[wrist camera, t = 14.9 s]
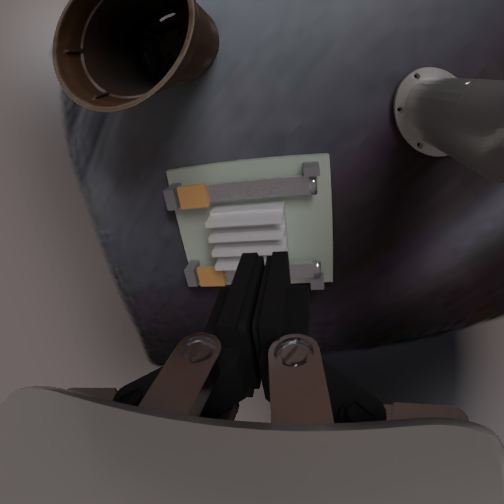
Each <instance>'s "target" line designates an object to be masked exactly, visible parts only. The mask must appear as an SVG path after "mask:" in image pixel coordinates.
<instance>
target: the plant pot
mask: <svg viewBox="0 0 504 504" xmlns="http://www.w3.org/2000/svg"><path fill="white" fill-rule="evenodd" d="M171 13H176V14H175V15H174V16H172V17H168V18H167V19H165V20H163V21H162V22H160V21H159V20H160V19H161V18H162V17H164V16H166V15H168V14H171ZM180 31H182V32H183V34H182V35H179V34H178V33H179V32H180ZM164 38H166V39H167V40H166V42H163V39H164ZM218 47H219V35H218V30H217V27H216V25H215V23H214V21H213V20H212V18H211V17H210V16H209V15H208V14H207V13H206V12H205V11H204V10H203V9H202V8H201V7H200V6H199V5H198V4H197V3H196V1H195V0H70V1H69V2H68V4H67V5H66V7H65V9H64V11H63V12H62V14H61V17H60V19H59V21H58V24H57V27H56V31H55V35H54V40H53V65H54V69H55V73H56V76H57V79H58V81H59V83H60V85H61V87H62V88H63V90H64V91H65V92H66V94H67V95H68V96H69V97H70V98H71V99H72V100H73V101H74V102H76V103H77V104H79V105H80V106H82V107H84V108H87V109H90V110H93V111H98V112H116V111H121V110H125V109H128V108H131V107H133V106H136V105H138V104H140V103H142V102H143V101H145V100H147V99H148V98H150V97H151V96H152V95H154V94H155V93H157V92H159V91H161V90H162V89H165V88H168V87H172V86H176V85H180V84H184V83H187V82H190V81H192V80H194V79H196V78H197V77H199V76H200V75H202V74H203V73H204V72H205V71H206V70H207V69H208V68H209V67H210V65H211V63H212V61H213V59H214V57H215V56H216V54H217V51H218ZM144 50H146V51H147V55H148V60H149V61H150V65H148V64H147V63H146V60H145V57H144V53H143V51H144ZM168 53H171V56H170V57H167V54H168Z"/></svg>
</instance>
